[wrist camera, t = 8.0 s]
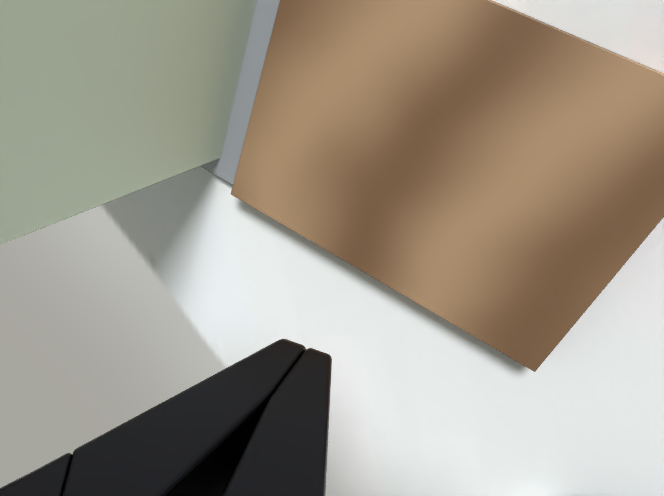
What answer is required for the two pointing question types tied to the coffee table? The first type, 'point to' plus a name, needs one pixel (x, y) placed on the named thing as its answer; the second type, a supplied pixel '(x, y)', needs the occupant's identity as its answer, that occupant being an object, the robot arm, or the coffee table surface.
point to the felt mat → (246, 90)
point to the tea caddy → (110, 99)
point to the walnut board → (459, 157)
